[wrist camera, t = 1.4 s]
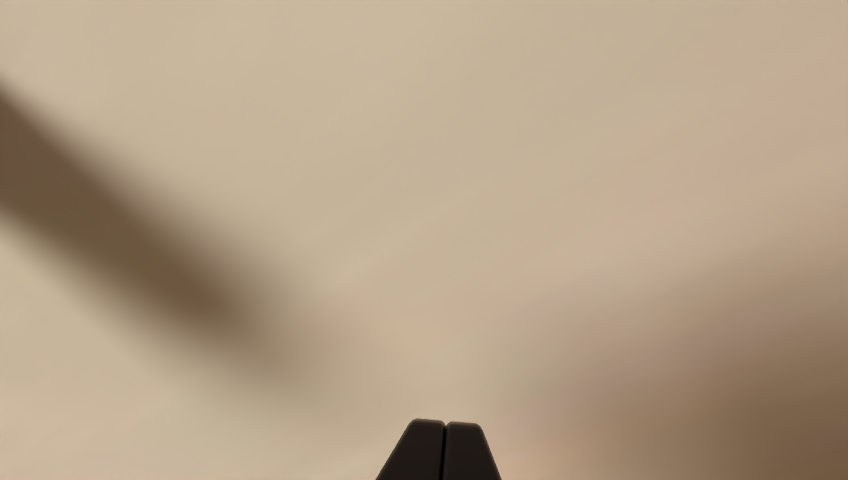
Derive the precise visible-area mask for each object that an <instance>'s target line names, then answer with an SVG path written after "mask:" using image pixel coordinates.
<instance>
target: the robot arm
mask: <svg viewBox="0 0 848 480" xmlns="http://www.w3.org/2000/svg"><path fill="white" fill-rule="evenodd" d="M376 480H502V479H501V477H500V474H499V472H498V469H497V466H496V464H495V461H494V459H493V456H492V453H491V451H490V448H489V446H488V443H487V440H486V438H485V435H484V432H483V430H482V428H481V427H480V426H479V425H478V424H476V423H465V422H449V423H448V424H447V426H445V424H444V422H442V421H440V420H429V419H414V420H412V421H411V422H410V424H409V425H408V426H407V428H406V430H405V431H404V433H403V435H402V436H401V438H400V440H399V441H398V443H397V445H396V446H395V448H394V450H393V451H392V453H391V455H390V456H389V458H388V460H387V461H386V463H385V465H384V466H383V468H382V470H381V471H380V473H379V475H378V476H377V478H376Z"/></svg>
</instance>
